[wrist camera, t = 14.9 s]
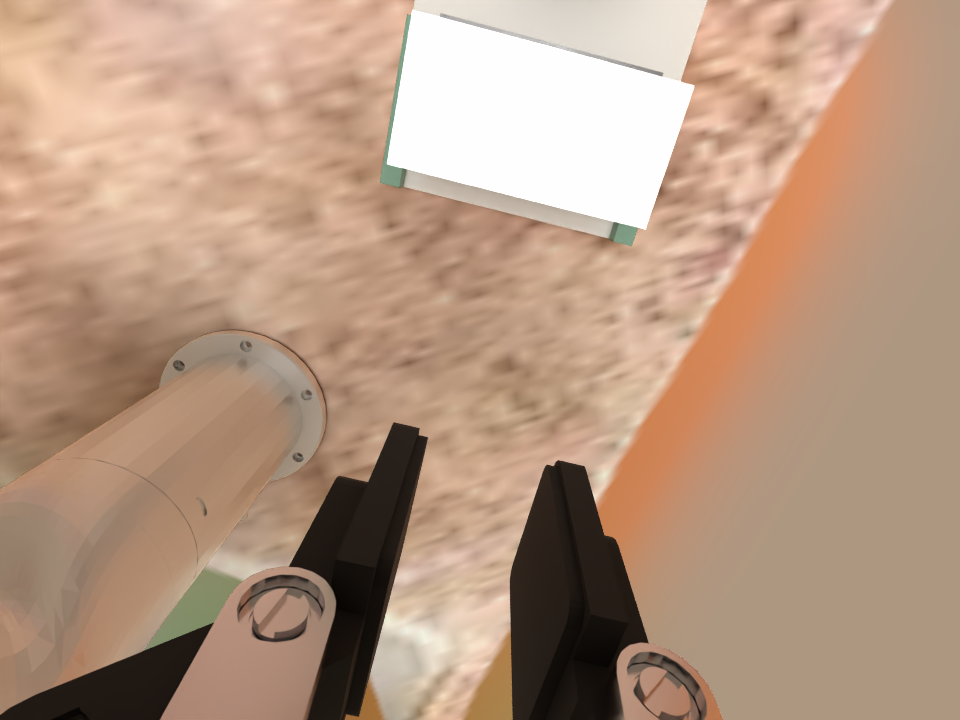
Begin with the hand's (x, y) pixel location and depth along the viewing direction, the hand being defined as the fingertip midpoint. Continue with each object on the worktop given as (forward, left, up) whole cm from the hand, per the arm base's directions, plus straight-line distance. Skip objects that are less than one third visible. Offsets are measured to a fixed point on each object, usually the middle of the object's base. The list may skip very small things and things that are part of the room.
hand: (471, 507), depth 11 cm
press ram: (+9, 0, -26) cm, 27 cm away
